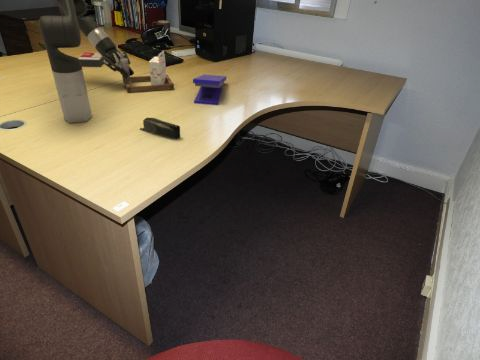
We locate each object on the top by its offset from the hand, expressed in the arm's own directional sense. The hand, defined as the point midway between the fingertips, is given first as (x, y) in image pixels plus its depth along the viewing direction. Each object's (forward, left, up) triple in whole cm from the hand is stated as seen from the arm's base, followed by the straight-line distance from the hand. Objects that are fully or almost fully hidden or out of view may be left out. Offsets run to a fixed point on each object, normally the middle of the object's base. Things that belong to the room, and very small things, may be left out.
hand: (129, 75), depth 144 cm
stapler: (-12, -33, -6) cm, 36 cm away
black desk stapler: (-46, -4, -6) cm, 47 cm away
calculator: (+42, +15, -6) cm, 45 cm away
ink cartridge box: (+1, -12, -6) cm, 14 cm away
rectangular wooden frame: (+1, -8, -5) cm, 9 cm away
